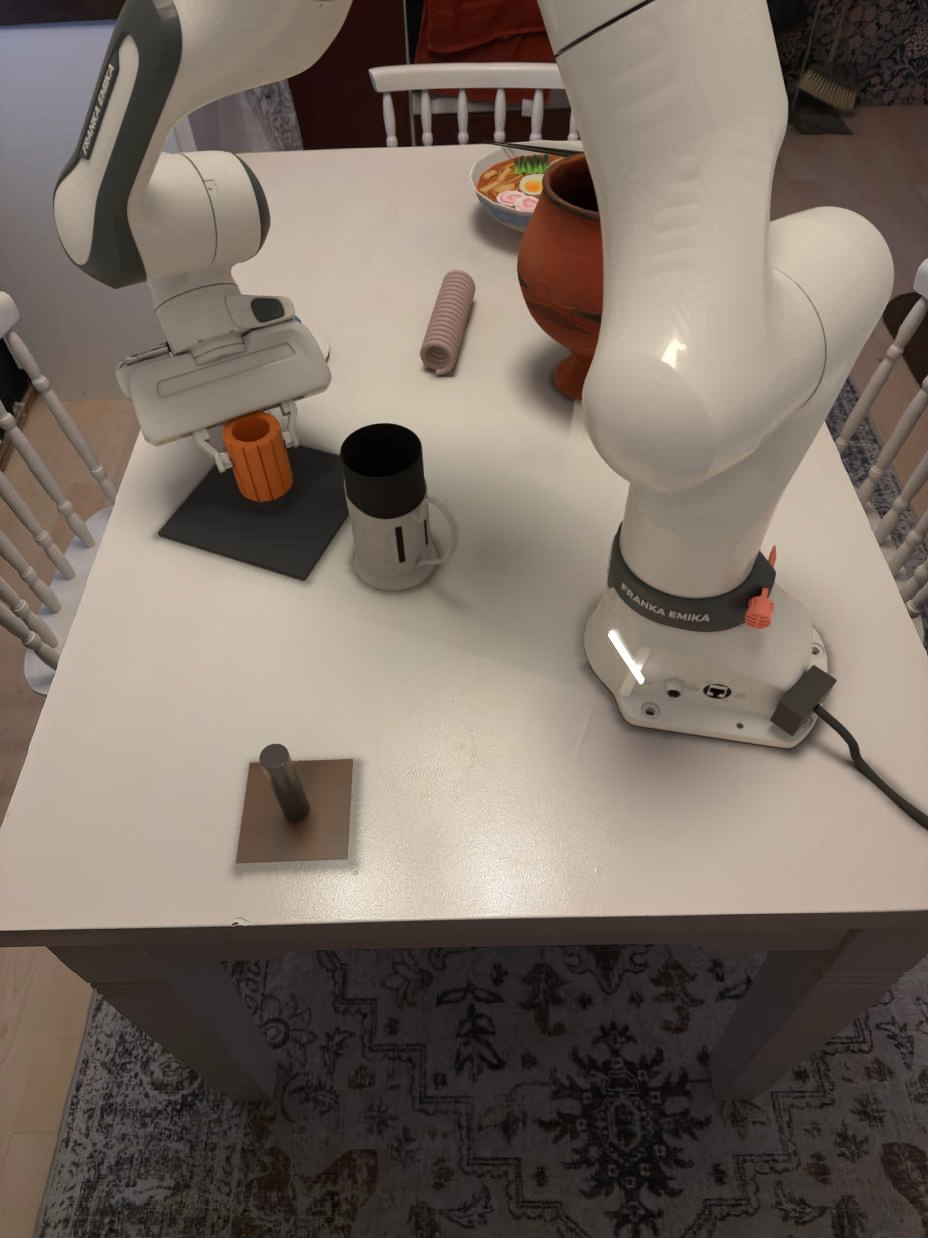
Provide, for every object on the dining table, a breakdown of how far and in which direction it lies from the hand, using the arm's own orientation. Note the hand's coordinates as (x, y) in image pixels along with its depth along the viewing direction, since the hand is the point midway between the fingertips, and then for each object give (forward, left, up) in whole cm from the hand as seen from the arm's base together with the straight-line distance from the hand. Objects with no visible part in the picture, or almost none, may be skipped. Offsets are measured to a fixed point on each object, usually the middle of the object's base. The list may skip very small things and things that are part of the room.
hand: (260, 459), depth 88 cm
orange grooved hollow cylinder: (0, 0, -4) cm, 4 cm away
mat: (0, 0, -7) cm, 7 cm away
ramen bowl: (-9, -68, -7) cm, 69 cm away
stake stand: (-21, +32, -7) cm, 38 cm away
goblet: (-27, -33, -7) cm, 43 cm away
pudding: (+12, -24, -7) cm, 28 cm away
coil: (-6, -36, -7) cm, 37 cm away
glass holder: (-19, +4, -7) cm, 20 cm away
